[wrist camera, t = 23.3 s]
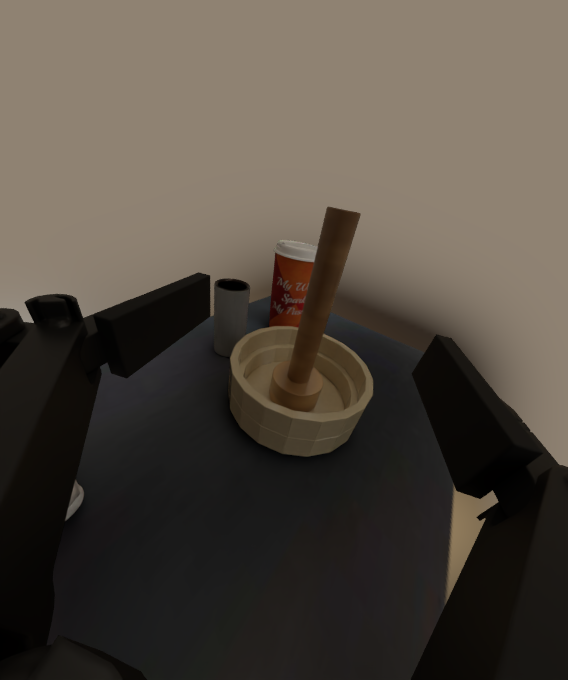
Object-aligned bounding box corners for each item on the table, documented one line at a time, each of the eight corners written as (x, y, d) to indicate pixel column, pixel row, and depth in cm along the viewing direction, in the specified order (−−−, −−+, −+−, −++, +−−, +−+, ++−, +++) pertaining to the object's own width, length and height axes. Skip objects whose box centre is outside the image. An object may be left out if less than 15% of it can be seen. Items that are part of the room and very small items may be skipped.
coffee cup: (267, 338, 39) (282, 247, 31) (260, 315, 45) (270, 236, 38) (311, 338, 41) (335, 255, 34) (298, 317, 48) (315, 243, 40)
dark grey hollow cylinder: (246, 356, 33) (253, 291, 28) (214, 358, 32) (215, 289, 26) (241, 340, 37) (247, 279, 32) (213, 340, 35) (213, 277, 30)
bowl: (357, 382, 33) (373, 349, 30) (348, 489, 20) (373, 451, 17) (261, 348, 36) (266, 315, 33) (199, 422, 23) (197, 379, 20)
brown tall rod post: (321, 387, 29) (382, 217, 19) (310, 422, 25) (385, 218, 14) (279, 372, 31) (314, 204, 20) (261, 402, 26) (295, 199, 15)
